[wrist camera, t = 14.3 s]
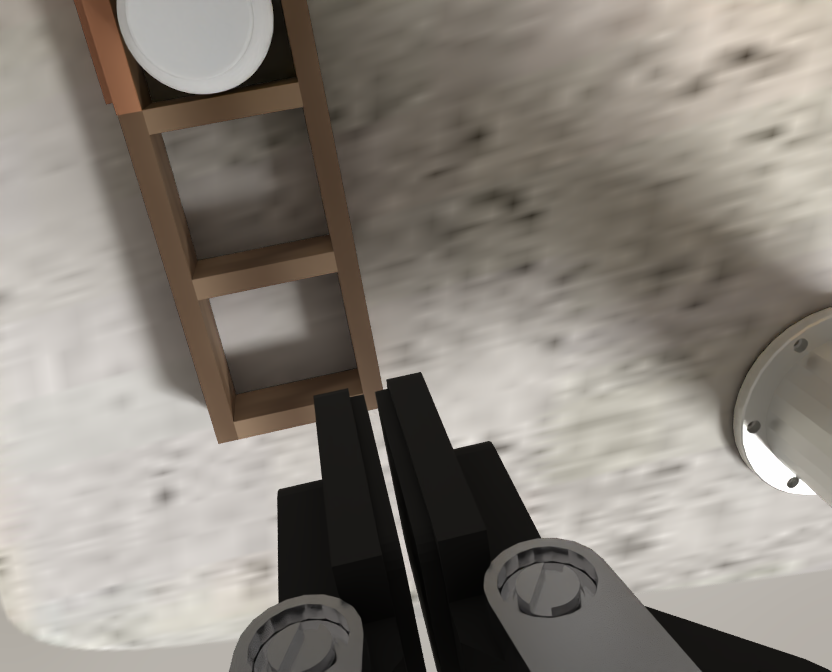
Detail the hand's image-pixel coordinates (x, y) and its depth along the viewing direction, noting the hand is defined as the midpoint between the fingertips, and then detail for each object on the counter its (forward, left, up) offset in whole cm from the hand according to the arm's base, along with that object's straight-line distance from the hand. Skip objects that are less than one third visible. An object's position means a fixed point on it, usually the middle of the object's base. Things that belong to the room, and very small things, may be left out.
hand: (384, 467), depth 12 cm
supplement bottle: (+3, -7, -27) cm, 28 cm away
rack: (+3, +1, -27) cm, 27 cm away
